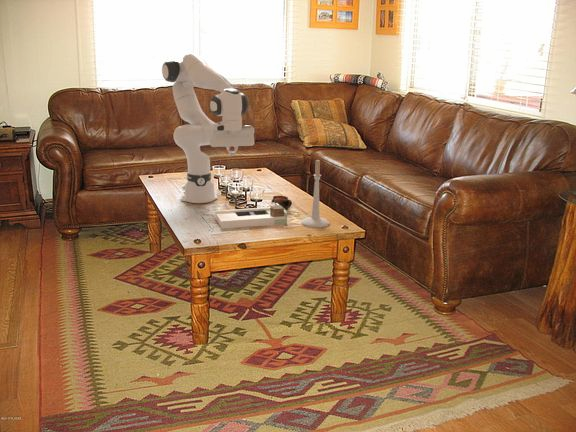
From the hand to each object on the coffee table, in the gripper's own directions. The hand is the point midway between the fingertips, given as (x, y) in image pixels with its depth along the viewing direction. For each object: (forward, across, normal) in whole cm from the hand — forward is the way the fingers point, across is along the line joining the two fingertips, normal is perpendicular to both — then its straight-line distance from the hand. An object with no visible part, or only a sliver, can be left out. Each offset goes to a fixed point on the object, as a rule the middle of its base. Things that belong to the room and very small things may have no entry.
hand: (232, 155), depth 282 cm
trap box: (+29, -7, +8) cm, 31 cm away
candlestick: (+29, -35, +18) cm, 49 cm away
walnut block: (+27, -18, +12) cm, 34 cm away
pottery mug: (+30, -26, -6) cm, 40 cm away
